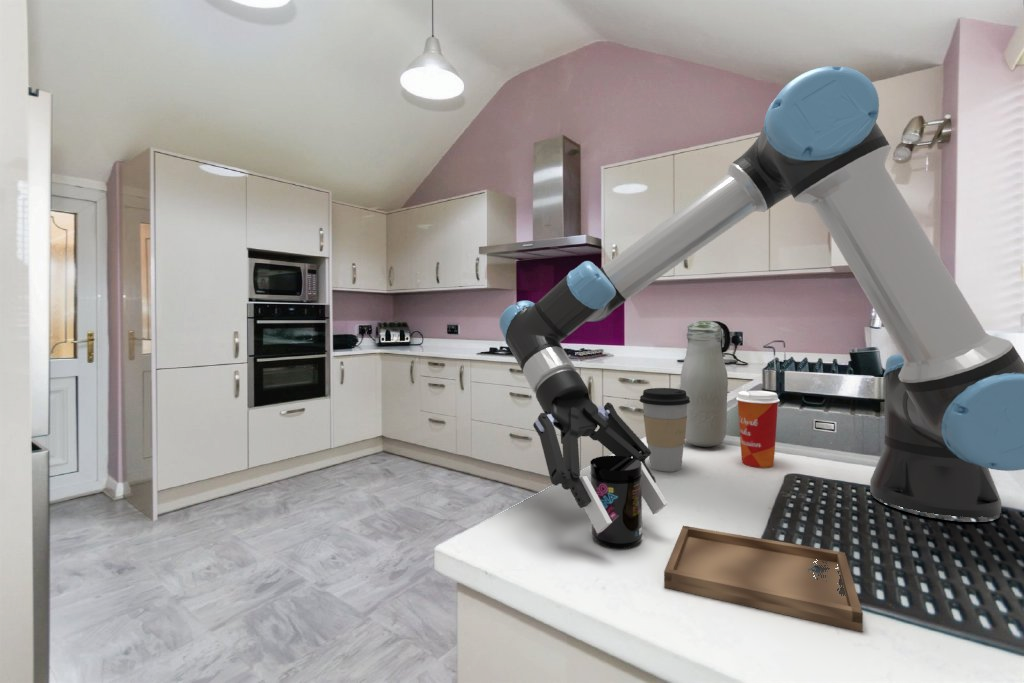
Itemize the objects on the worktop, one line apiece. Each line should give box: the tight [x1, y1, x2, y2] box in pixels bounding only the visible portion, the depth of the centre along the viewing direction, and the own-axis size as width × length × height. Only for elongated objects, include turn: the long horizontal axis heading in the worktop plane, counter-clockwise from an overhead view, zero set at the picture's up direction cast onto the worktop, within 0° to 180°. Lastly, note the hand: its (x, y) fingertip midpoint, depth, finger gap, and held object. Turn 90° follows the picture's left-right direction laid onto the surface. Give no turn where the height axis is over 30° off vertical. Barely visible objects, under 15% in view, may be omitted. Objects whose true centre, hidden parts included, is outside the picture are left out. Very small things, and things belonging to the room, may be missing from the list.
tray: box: [663, 525, 864, 633], centre depth 56 cm, size 18×13×2 cm
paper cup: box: [735, 390, 780, 469], centre depth 97 cm, size 8×8×14 cm
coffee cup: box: [639, 387, 690, 473], centre depth 96 cm, size 9×9×15 cm
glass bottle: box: [680, 320, 729, 448], centre depth 110 cm, size 10×10×28 cm
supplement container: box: [589, 455, 643, 549], centre depth 66 cm, size 7×7×10 cm
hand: (633, 518), depth 64 cm, fingers open, 9 cm apart
